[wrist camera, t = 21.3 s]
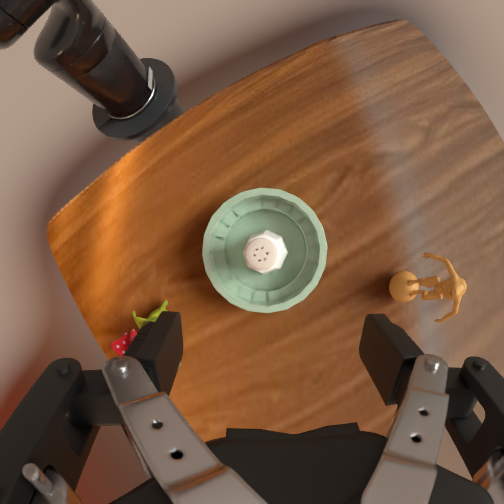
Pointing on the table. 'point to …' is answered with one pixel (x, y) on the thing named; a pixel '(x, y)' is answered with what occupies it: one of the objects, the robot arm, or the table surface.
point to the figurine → (407, 286)
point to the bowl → (254, 221)
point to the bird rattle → (125, 341)
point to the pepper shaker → (265, 252)
